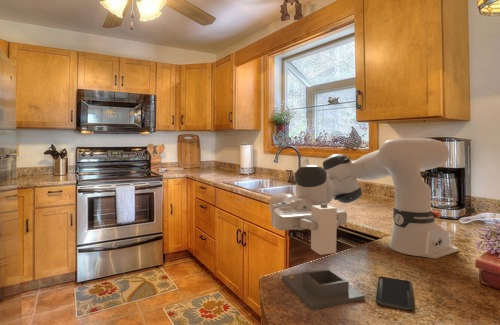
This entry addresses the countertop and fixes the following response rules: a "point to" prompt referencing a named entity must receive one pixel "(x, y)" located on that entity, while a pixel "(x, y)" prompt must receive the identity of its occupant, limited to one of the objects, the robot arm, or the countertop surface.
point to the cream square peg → (324, 229)
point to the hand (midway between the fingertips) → (325, 225)
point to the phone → (395, 294)
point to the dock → (322, 288)
